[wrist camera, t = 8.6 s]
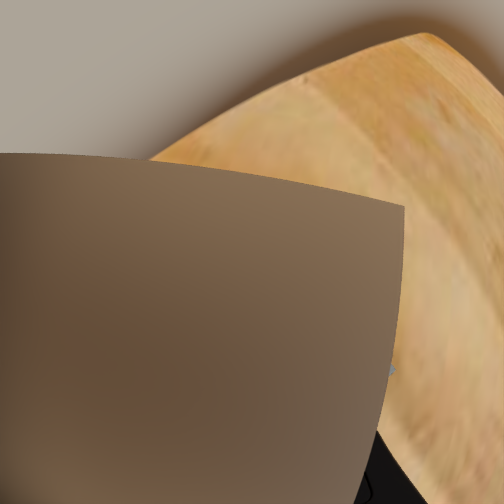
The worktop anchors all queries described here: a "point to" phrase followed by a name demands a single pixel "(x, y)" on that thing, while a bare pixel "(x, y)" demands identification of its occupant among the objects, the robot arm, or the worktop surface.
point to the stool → (189, 333)
